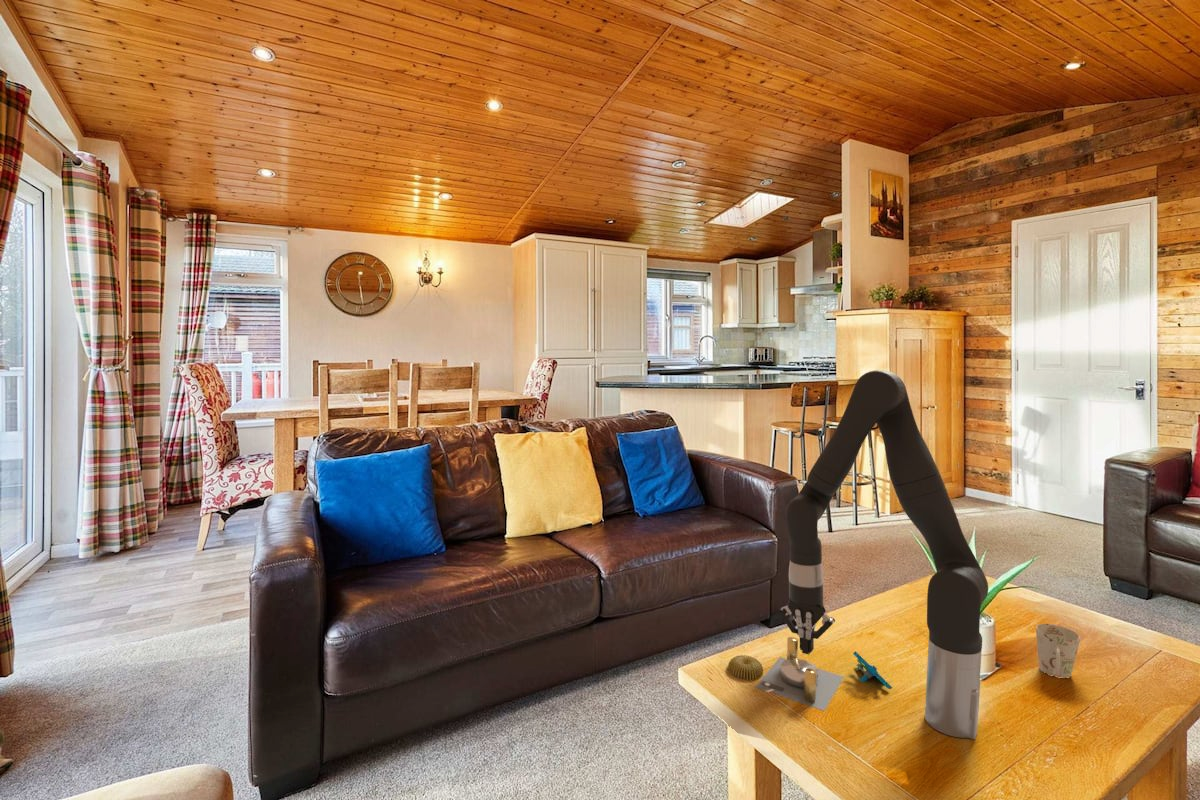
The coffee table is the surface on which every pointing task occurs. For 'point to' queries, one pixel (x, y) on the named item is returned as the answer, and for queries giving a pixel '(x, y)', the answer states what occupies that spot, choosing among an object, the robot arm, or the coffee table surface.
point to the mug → (1056, 649)
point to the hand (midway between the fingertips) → (806, 652)
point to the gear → (868, 670)
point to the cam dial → (799, 671)
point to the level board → (779, 687)
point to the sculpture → (745, 666)
